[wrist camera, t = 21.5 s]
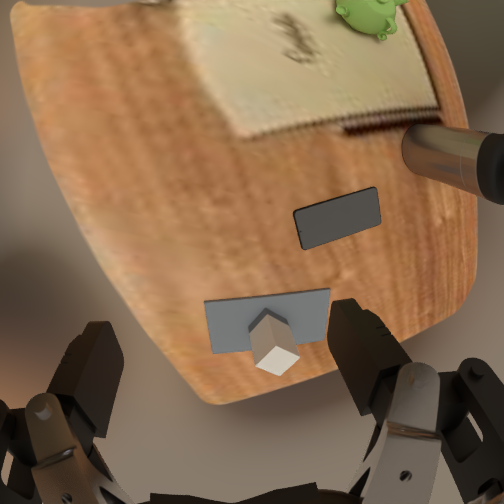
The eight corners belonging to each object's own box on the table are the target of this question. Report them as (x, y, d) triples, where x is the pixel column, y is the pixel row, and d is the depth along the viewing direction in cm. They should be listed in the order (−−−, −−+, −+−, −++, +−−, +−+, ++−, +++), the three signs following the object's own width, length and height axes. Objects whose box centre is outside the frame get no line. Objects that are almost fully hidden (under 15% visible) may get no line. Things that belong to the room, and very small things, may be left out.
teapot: (381, 53, 34) (410, 43, 26) (317, 23, 31) (339, 4, 24) (390, 7, 30) (417, -7, 22) (331, -22, 27) (351, -44, 20)
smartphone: (382, 224, 45) (302, 251, 45) (379, 222, 46) (301, 249, 46) (377, 186, 42) (292, 211, 42) (374, 185, 43) (291, 210, 43)
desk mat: (329, 287, 49) (330, 289, 49) (323, 338, 54) (324, 340, 54) (204, 300, 48) (204, 302, 47) (212, 351, 52) (212, 353, 52)
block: (300, 357, 41) (286, 319, 50) (276, 345, 40) (265, 307, 49) (279, 376, 43) (269, 337, 52) (255, 366, 41) (248, 326, 50)
